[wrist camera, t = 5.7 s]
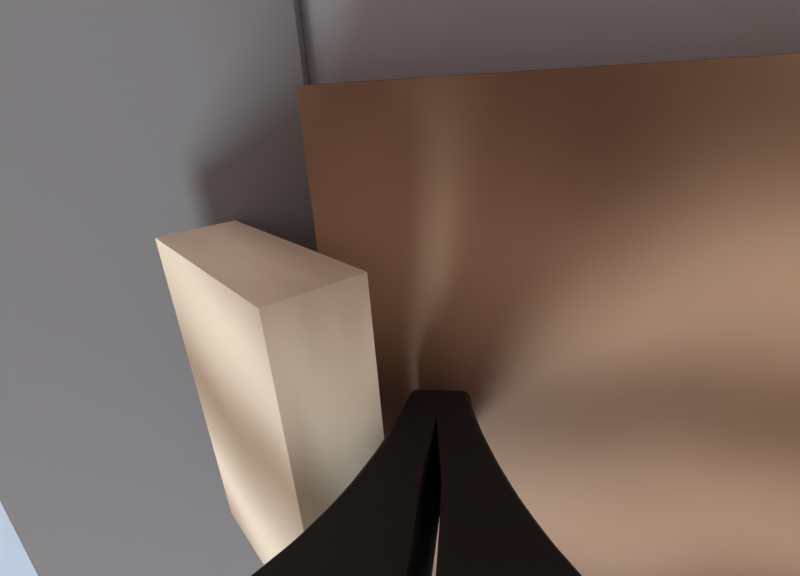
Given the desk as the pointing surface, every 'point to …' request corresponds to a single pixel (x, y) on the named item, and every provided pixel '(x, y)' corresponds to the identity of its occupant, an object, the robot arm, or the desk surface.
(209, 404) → the tile
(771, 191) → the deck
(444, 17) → the desk surface
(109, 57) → the mat
